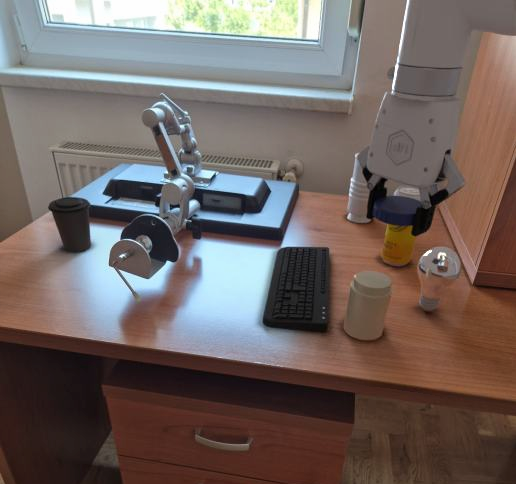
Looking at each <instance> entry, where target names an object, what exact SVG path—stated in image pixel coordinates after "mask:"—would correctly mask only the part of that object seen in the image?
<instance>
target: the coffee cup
mask: <svg viewBox="0 0 516 484" xmlns="http://www.w3.org/2000/svg"><path fill="white" fill-rule="evenodd" d="M90 207H91V202H90V201H89V200H88V199H87V198H83V197H77V196H76V197H75V196H67V197H66V196H65V197H61V198H57V199H54V200H52V201H50V203H48V206H47V209H48V210H49V212H51V215H52V217H53V220H54V222H55V226H56V228H57V232H58V234H59V237H60V240H61V242H62V246H63V248H64V250H65V251H66V252H70V253H80V252H81V253H82V252H85V251H87V250H89V249H90V248H91V247H92V239H91V225H90V223H91V222H90V209H89V208H90Z"/></svg>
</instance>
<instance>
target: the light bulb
mask: <svg viewBox="0 0 516 484" xmlns="http://www.w3.org/2000/svg"><path fill="white" fill-rule="evenodd" d="M461 271H462V262H461V258H460V257H459V254H457V252H456V251H455V250H454V249H452V248H450V247H448V246H443V245H438V246H434V247H431V248H429V249H427V250H425V251H424V252H423V253H422V254H421V256H420V258H419V259H418V261H417V264H416V273H417V277H418V280H419V282H420V296H419V301H418V306H419V307H420V308H421V309H422V310H423V311H424V312H426V313H430V312H432V311H434V310H437V308H438V307H439V304H440V301H441V298H442V297H443V296H444V294H445V292H446V291H447V289H448V288H450V287H451V285H453V284H454V283H456V282H457V280H458V278H459V277H460V274H461Z"/></svg>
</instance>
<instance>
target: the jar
mask: <svg viewBox="0 0 516 484" xmlns="http://www.w3.org/2000/svg"><path fill="white" fill-rule="evenodd" d="M348 293H349V294H348V299H347V304H346V310H345V317H344V321H343V329H344V332H345V333H346V334H347V335H348V336H350V337H351V338H354V339H356V340H361V341H373V340H377V339H378V338H381V336H382V335H383V331H384V329H385V328H384V327H385V324H386V318H387V315H388V311H389V307H390V301H391V297H392V294H393V289H392V279H391V277H390V276H388V275H387V274H384V273H382V272H379V271H375V270H363V271H359V272H357V273H356V274H355V275H354V279H353V280H352V281H351V282H350V288H349V292H348Z"/></svg>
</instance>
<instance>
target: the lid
mask: <svg viewBox="0 0 516 484" xmlns="http://www.w3.org/2000/svg"><path fill="white" fill-rule="evenodd" d="M421 205H422V203H421V201H419V200H416V199H413V198H409V197H404V196H393V195H386V196H384V197H381V198H378V199H376V200H375V203H374V206H373V212H372V214H373V216H374V217H375V218H374V219H375V220H377V221H379V222H381V223H384V224H386V225H387V224H391V225H396V226H413V222H414V218H415V213H416V209H417V207H419V206H421Z"/></svg>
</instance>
